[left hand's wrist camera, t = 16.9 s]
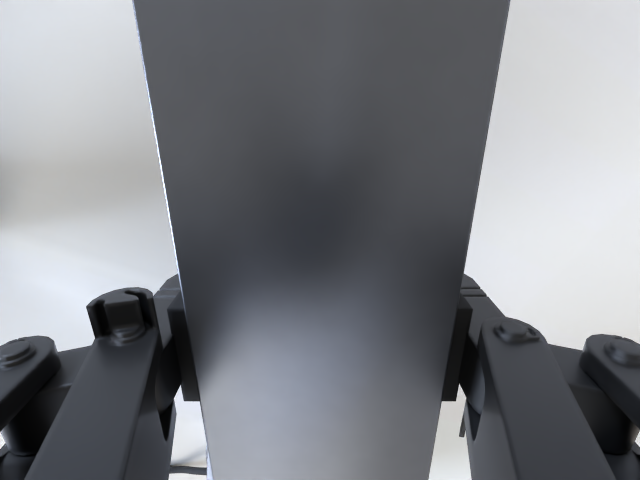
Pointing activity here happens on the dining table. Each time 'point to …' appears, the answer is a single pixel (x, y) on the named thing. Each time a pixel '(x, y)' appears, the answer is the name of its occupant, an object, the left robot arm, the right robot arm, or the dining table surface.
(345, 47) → the bar
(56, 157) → the dining table surface
